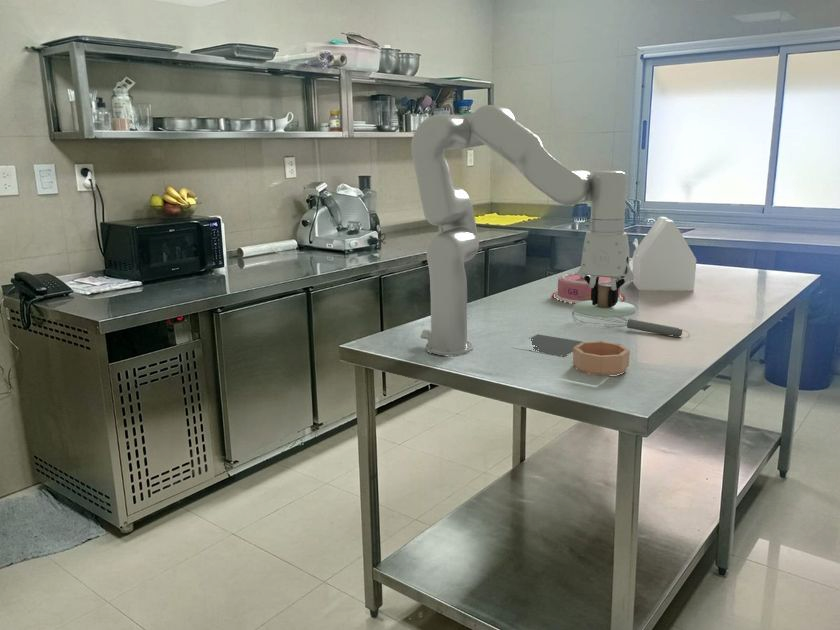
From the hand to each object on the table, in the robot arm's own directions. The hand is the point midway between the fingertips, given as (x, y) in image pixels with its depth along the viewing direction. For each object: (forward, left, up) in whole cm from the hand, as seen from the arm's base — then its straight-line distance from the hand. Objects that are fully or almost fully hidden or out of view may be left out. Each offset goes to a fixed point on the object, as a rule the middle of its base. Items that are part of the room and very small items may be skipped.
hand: (604, 304), depth 156 cm
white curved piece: (-36, +113, -16) cm, 120 cm away
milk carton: (-17, +102, -16) cm, 105 cm away
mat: (-18, +10, -16) cm, 26 cm away
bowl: (0, 0, -16) cm, 16 cm away
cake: (-33, +71, -16) cm, 80 cm away
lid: (0, 0, -1) cm, 1 cm away
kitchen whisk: (-7, +37, -16) cm, 41 cm away
